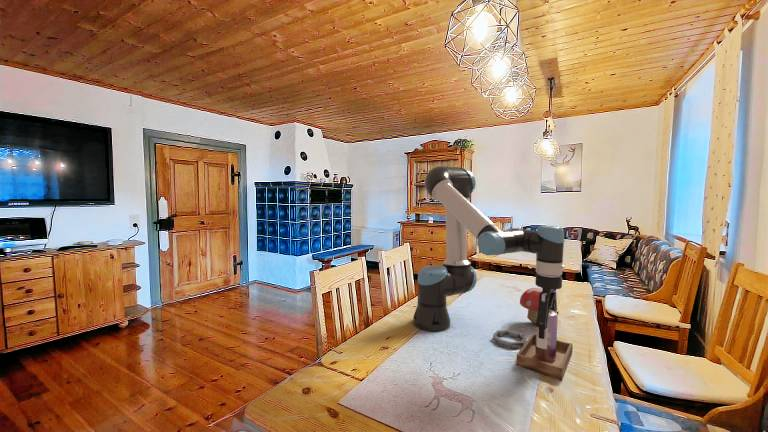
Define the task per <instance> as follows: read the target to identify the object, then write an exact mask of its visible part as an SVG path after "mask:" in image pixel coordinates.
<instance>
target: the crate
mask: <svg viewBox="0 0 768 432" xmlns="http://www.w3.org/2000/svg"><path fill="white" fill-rule="evenodd" d="M573 347H574V346H573V343H571V342H567V341H563V340H560V339H557V345H556V358H555V360H553V361H544V360H541V359H539V358H538V357H537V356H536V354H535V348H536V333H531V335H530V336H529V337H528V339H527V341H526V343H525V344H524V346H523V347H522V348H520V350H519V351H518V352H517V353H516V359H515V360H516V362H515V363H516V364H515V366H516V367H518V368H522V369H525V370H529V371H531V372H535V373H536V374H537V373H538V374H541V375H544V376H547V377H550V378H553V379H556V380H558V381H559V380H560V381H563V379H564V377H565V374H566V372H567V368H568V366H569V363H570V361H571V359H572V355H573V349H574V348H573Z"/></svg>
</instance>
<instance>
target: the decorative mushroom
mask: <svg viewBox="0 0 768 432" xmlns="http://www.w3.org/2000/svg"><path fill="white" fill-rule="evenodd" d="M542 290H543V289H542V288H541V287H531V288H528V289H526V290H525V291H523V293H522V294H521V296H520V297H519V304H520V306H521V307H523V308H524V309H527V319H528V320H529V321H530V323H532V324H536V320H537V312H538V304H539V294H540V292H542Z"/></svg>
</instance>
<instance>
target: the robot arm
mask: <svg viewBox="0 0 768 432" xmlns="http://www.w3.org/2000/svg"><path fill="white" fill-rule="evenodd" d="M424 187H425V191H426V192H427V194H428V195H429V196H430V198H432V199H433V200H434V201H435V202H439V203H441V204H442V206H443V207H444V208H445V235H446V236H445V237H446V238H445V240H446V243H445V244H446V246H445V249H446V252H445V254H446V258H445V259H444V260H443V262H442V265H440V264H439V265H438V264H435V265H432V264H431V265H427V266H423V267H421V268H420V269H419V270H418V273H417V281H416V282H417V305H416V308H415V311H414V314H413V316H412V317H413V318H412V324H413V325H414V326H415V328H417V329H420V330H423V331H427V332H442V331H446V330H448V329H450V327H451V318H450V314H449V312H448V309H447V297H450V296H451V297H452V296H456V295H462V294H466V293H468V292H471V291H472V290H473V289H474V288H475V286H476V284H477V281H478V279H477V278H478V277H477V272H476V271H475V269H474V267H473V266H471V264H472V263H471V261H470V260H468V248H467V247H468V246H467V244H468V243H467V242H468V241H467V240H468V233H467V232H469V233H471V235H472V236H473V237H474V238H475V239H477V241H476V245H477V248H478V251H480V252H481V254H483V255H485V256H499V255H505V254H513V253H520V252H522V253H523V252H524V253H528V254H529V253H531V254H534V255H536V256H535V257H536V258H535V272H536V273H535V281H534V282H535V283H534V284H535V285H536V286H537V288H541V289H543V290H542V292H540V294H539V304H538V312H537V320H536V324H534V323H533V324H534V327H537V347H539V348H543V349H547V331H548V328H547V322H548V316H549V310H553V311H555V312H556V313H557V316H558V315H559V311H558V303H557V299H558V298H557V290H560V289H561V288H562V286H563V277H562V275H563V270H564V269H565V268H566V267H565V265H563V264H564V263H563V262H564V247H565V246H564V245H565V231H564V228H563V227H562V226H558V225H548V224H547V225H546V224H544V225H542V224H541V225H539V226H538V227H537V230H533V229H532V230H531V229H522V228H519V227H516V228H514V227H513V228H512V227H509V228H507V229H506V230H502V229H500V228H499V227H498V226H497V225H495V224H494V223H493V222H492V221H491V220H490V219H489V218H488V217H487V216H485V215H484V214H483V213H482V212H481V211H480V210H479V209H478V208H477V207H476V206H475V205H473V204H472V202H470V199H471V194H472V193H473V192H474V190H475V189H476V177H475V175H474V173H473V172H472V171H471V170H470V169H468V168H465V167H461V166H459V167H458V166H456V167H455V166H441V165H440V166H436V167H434V168H432V169H430V170H429V171H428V172H427V174H426V175H425V178H424ZM541 323H543V324H541Z"/></svg>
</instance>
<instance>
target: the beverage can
mask: <svg viewBox="0 0 768 432" xmlns="http://www.w3.org/2000/svg"><path fill="white" fill-rule="evenodd" d="M558 319H559V318H558V315H557V313H556V312H555V311H553V310H549V316H548V322H547V328H548V331H547V349H543V348H539V347H537V327H536V326H535V327H536V328H535V334H536V348H535V354H536V356H537V357H538V358H539V359H541V360H544V361H553V360H555V358H556V345H557V340H558ZM541 324H543V323H541Z"/></svg>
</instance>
